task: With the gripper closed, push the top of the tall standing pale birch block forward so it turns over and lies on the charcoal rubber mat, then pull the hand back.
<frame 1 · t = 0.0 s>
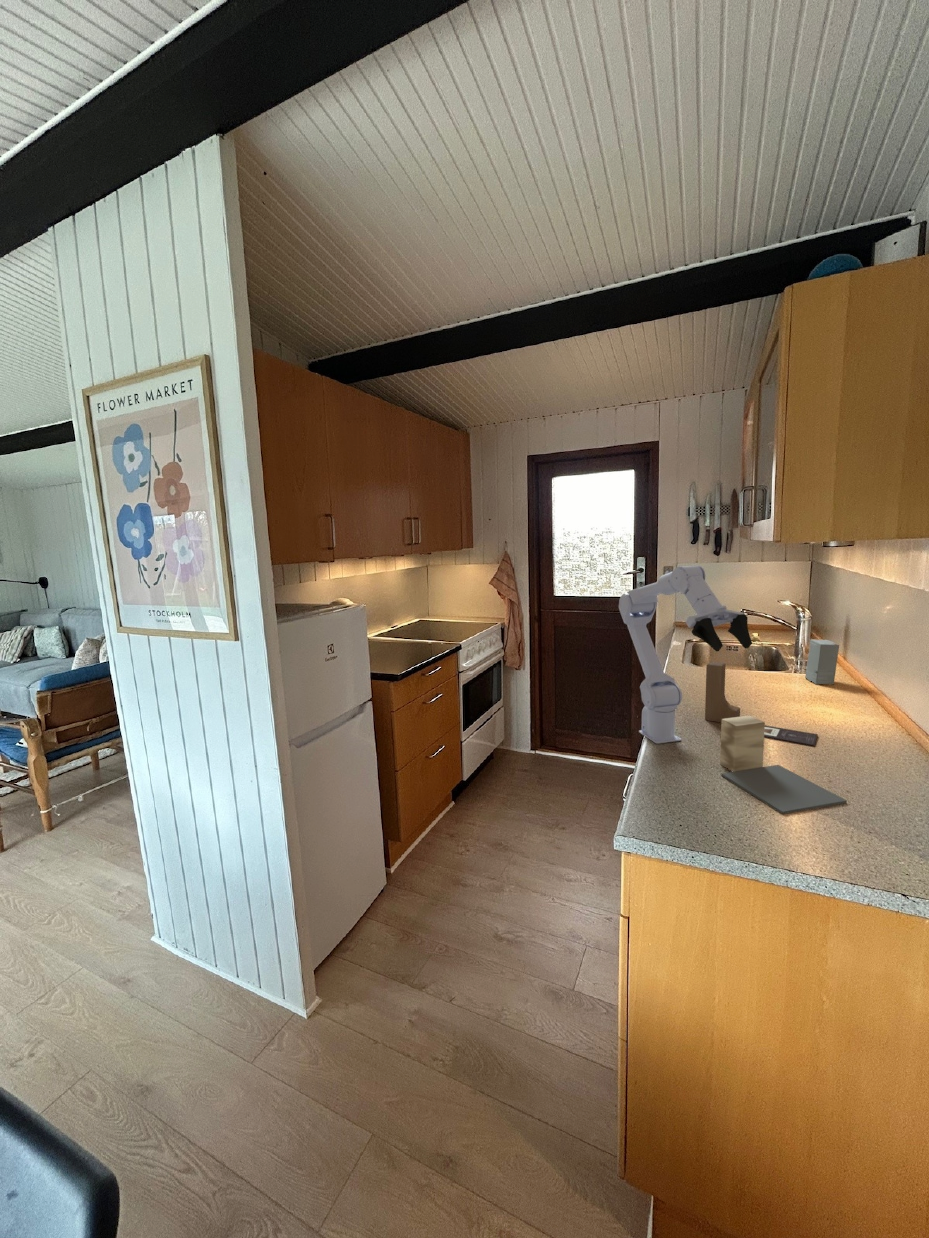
hand: (734, 647, 113), 32 cm above the worktop, tool tilted 50°, fingers open, 7 cm apart
wooden block: (722, 721, 156), on the worktop
birch block: (741, 766, 125), on the worktop
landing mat: (780, 788, 114), on the worktop
skincare box: (820, 682, 190), on the worktop
chocolate bar: (777, 736, 144), on the worktop
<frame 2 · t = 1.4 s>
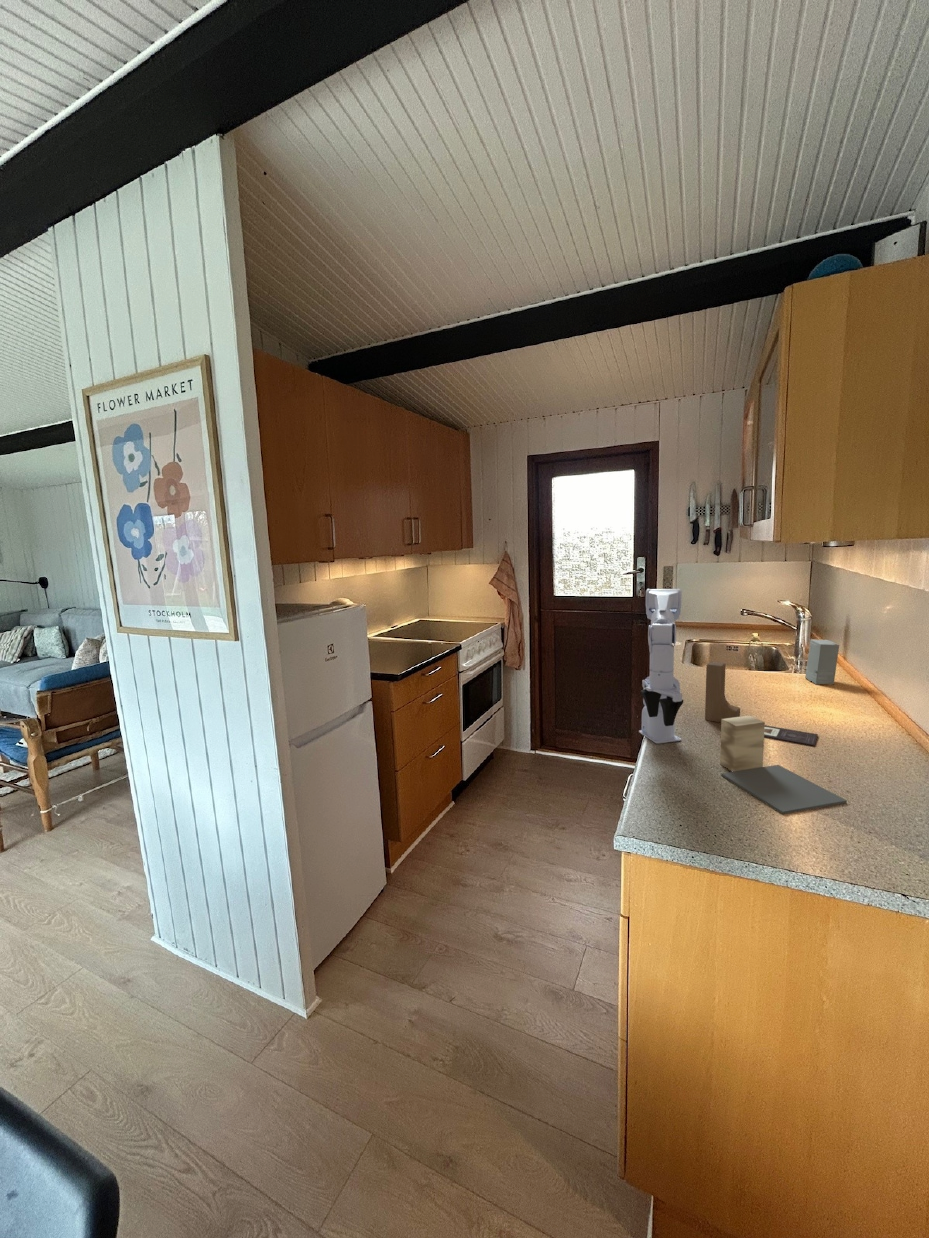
hand: (660, 720, 130), 10 cm above the worktop, tool pointing down, fingers open, 6 cm apart
nothing on the worktop moved.
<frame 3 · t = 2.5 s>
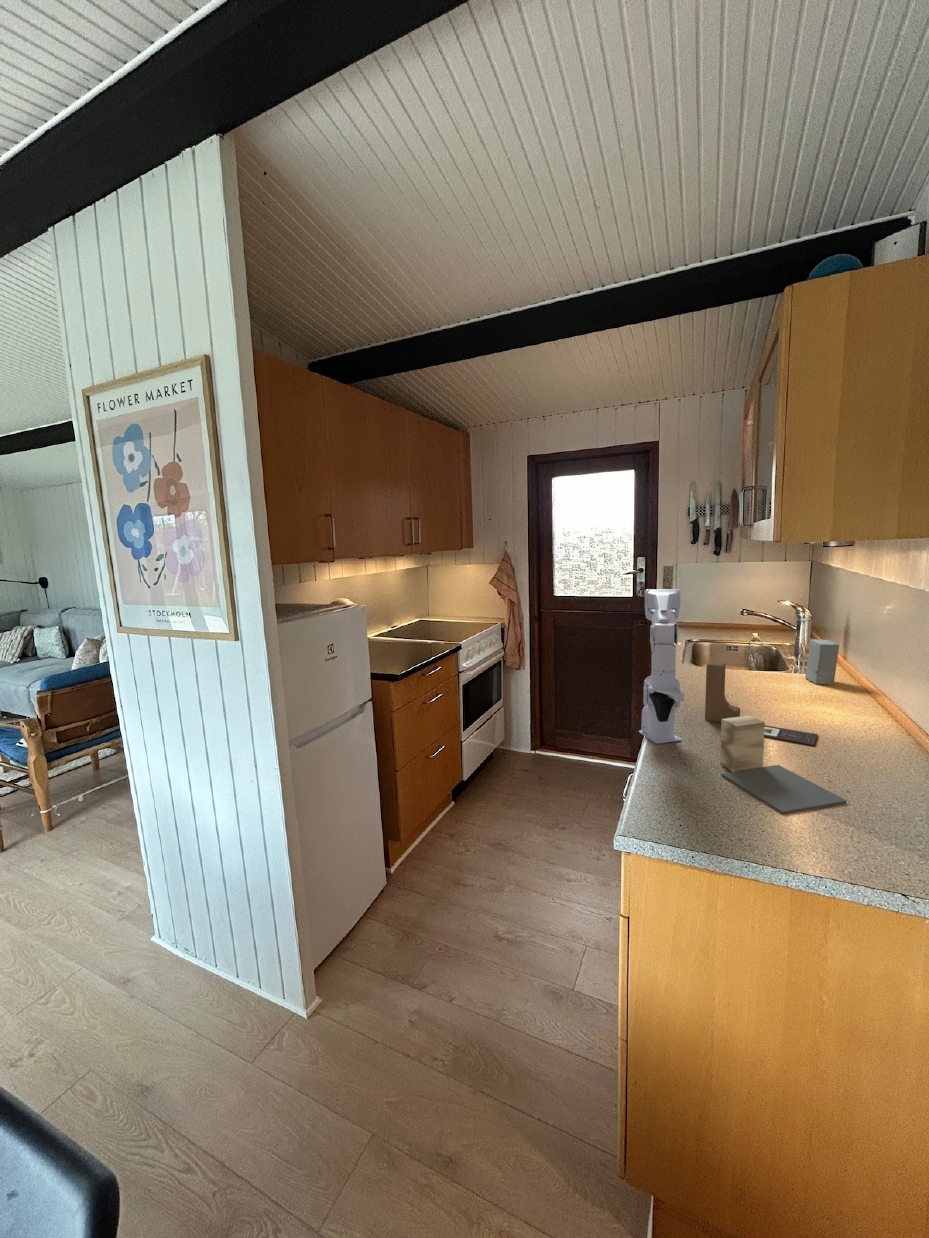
hand: (662, 720, 130), 10 cm above the worktop, tool pointing down, fingers closed
nothing on the worktop moved.
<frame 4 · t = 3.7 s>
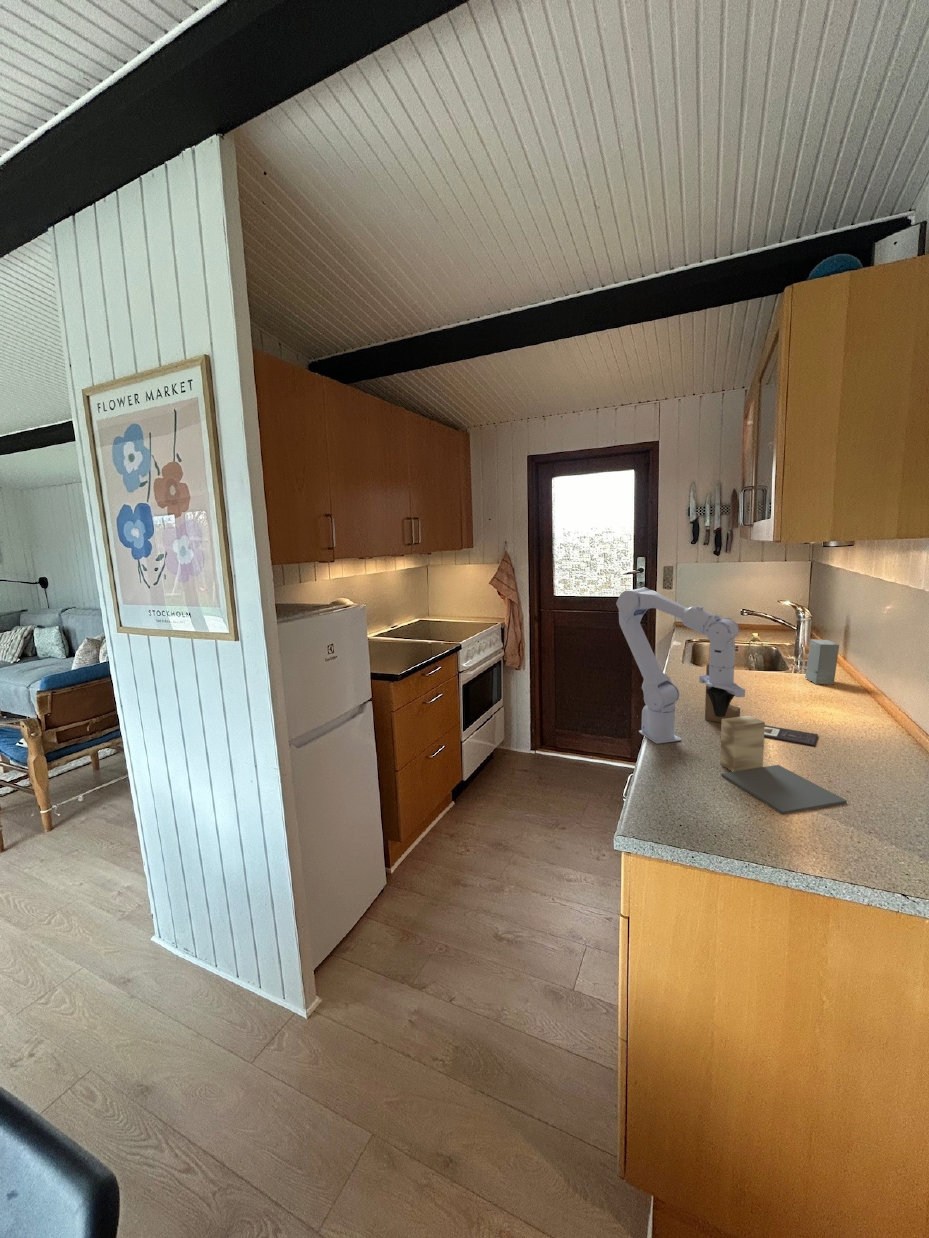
hand: (720, 715, 132), 10 cm above the worktop, tool pointing down, fingers closed
nothing on the worktop moved.
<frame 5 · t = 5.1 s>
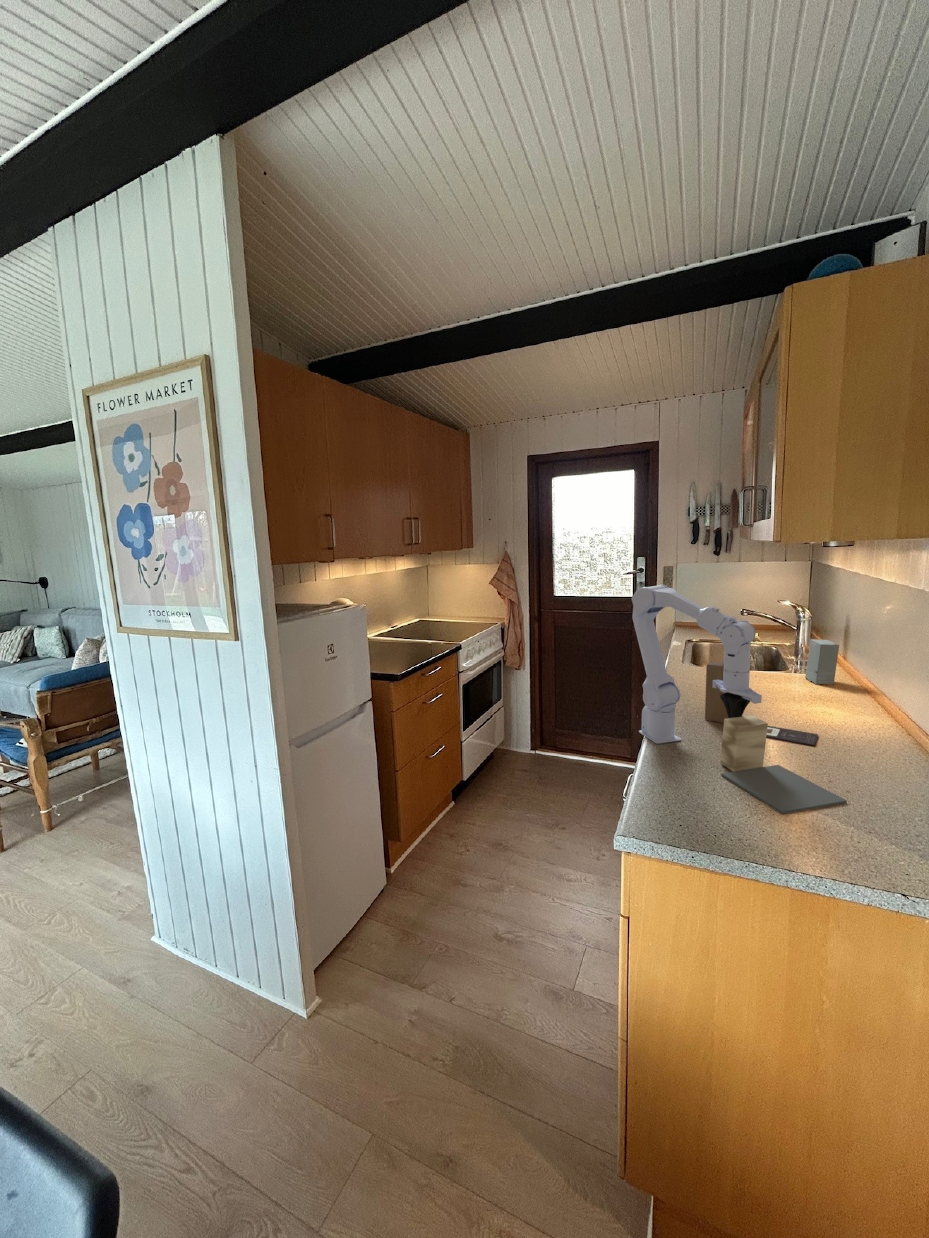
hand: (734, 722, 126), 10 cm above the worktop, tool pointing down, fingers closed
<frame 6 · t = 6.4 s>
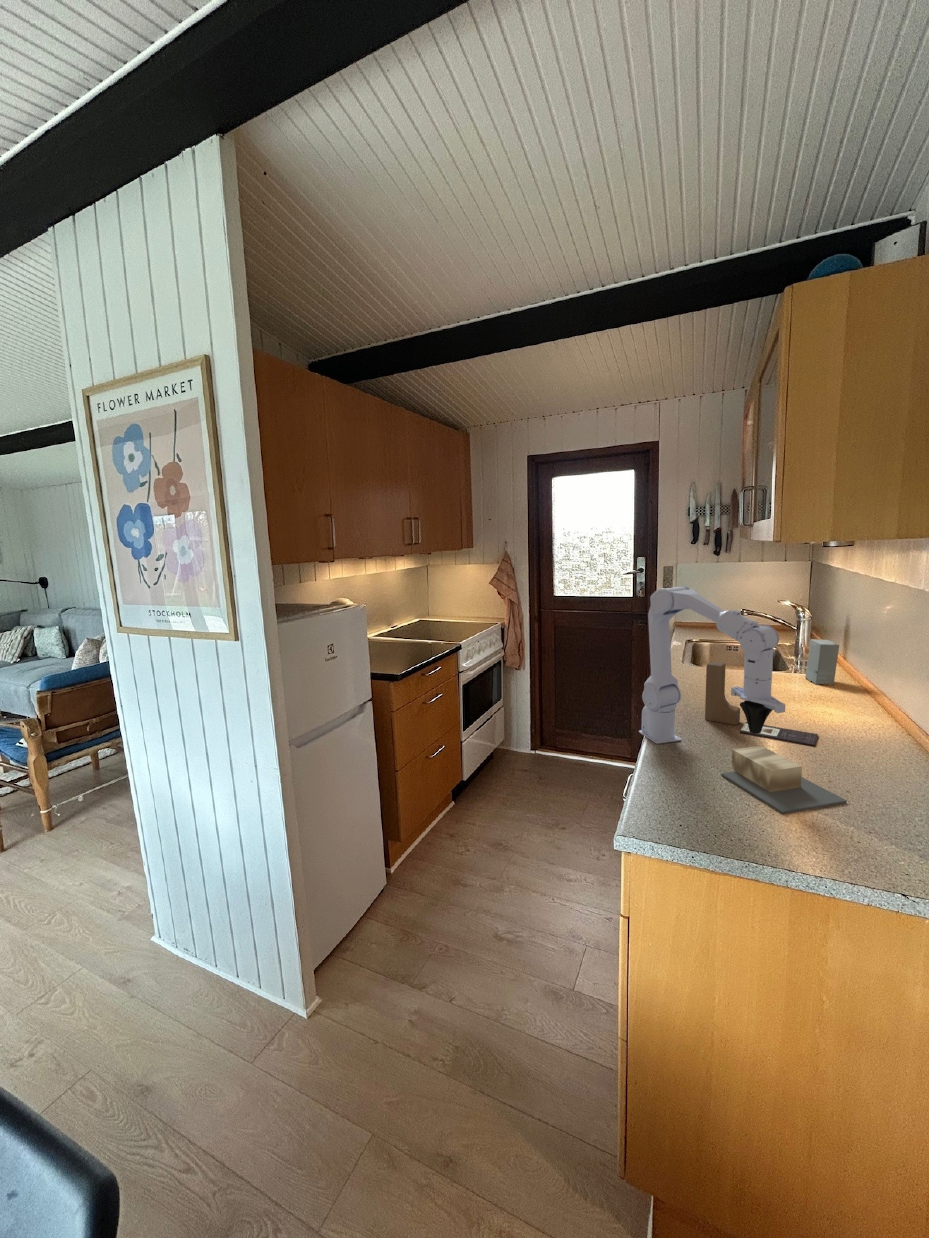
hand: (755, 732, 120), 10 cm above the worktop, tool pointing down, fingers closed
birch block: (746, 757, 123), point 3 cm above the worktop, tilted 90°, touching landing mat
everything else where it was.
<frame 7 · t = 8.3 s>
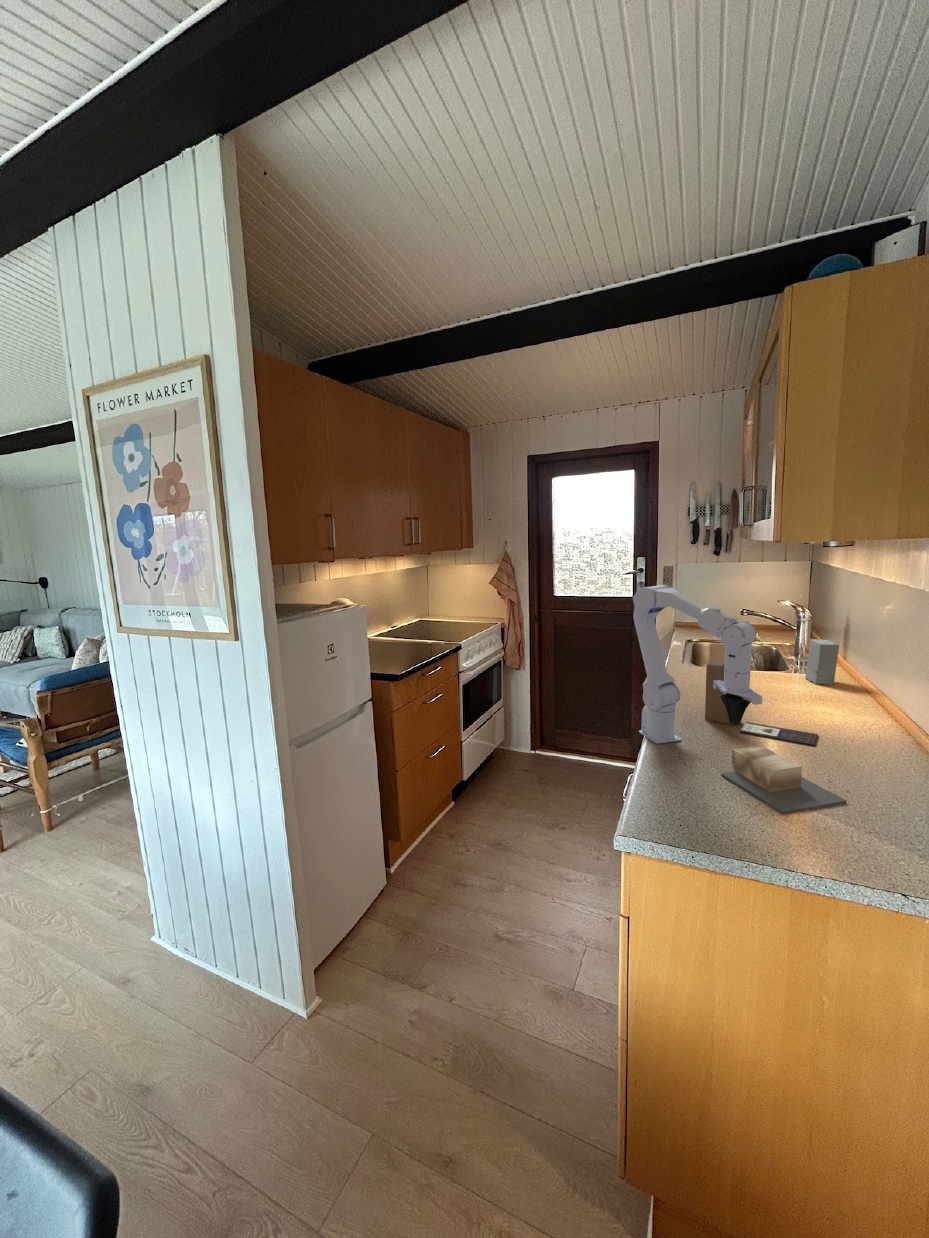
hand: (735, 723, 126), 10 cm above the worktop, tool pointing down, fingers closed
nothing on the worktop moved.
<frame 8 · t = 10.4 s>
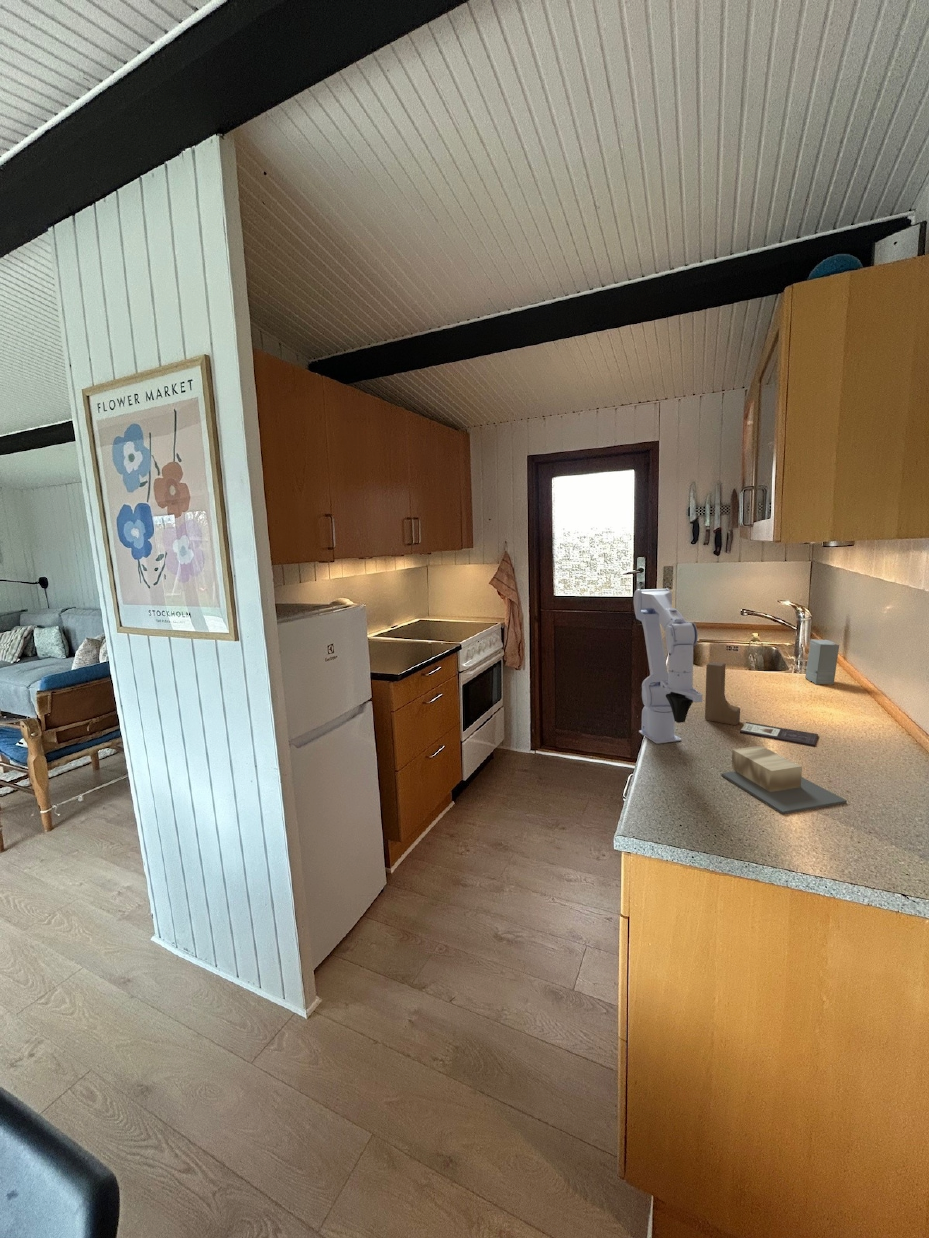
hand: (679, 721, 129), 10 cm above the worktop, tool pointing down, fingers closed
nothing on the worktop moved.
at the end: birch block tilted 90°; birch block touching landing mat; birch block inside the target area (7.8 cm from its centre), point 3.1 cm above the worktop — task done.
